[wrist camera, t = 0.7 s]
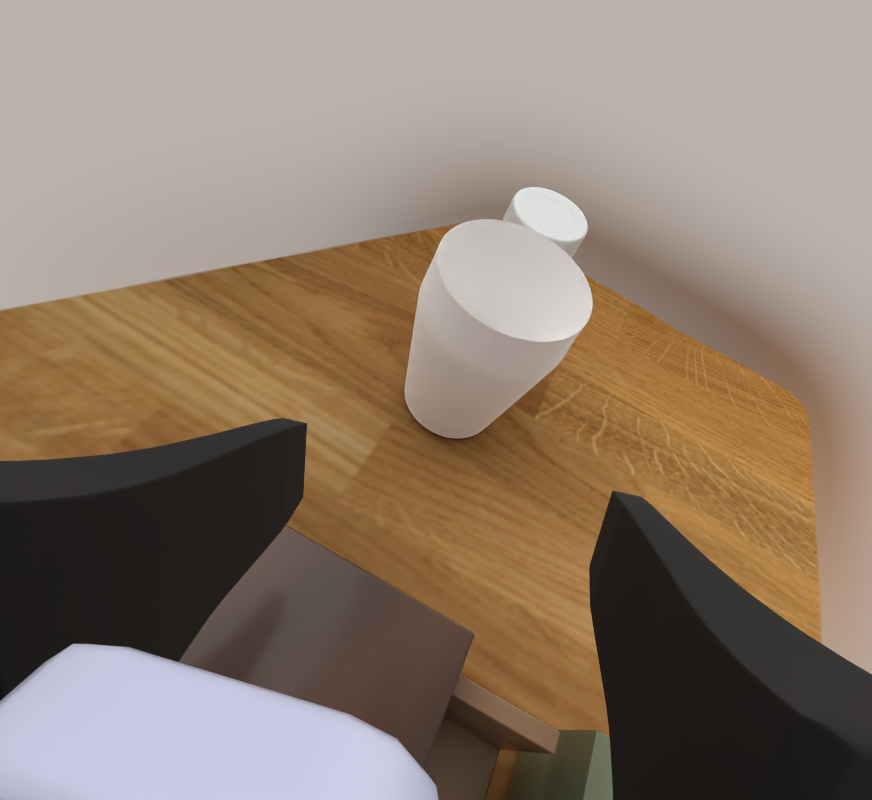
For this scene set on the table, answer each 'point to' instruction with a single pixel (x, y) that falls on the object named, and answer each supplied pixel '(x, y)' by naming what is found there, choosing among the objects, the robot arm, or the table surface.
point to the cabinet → (336, 641)
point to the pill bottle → (549, 217)
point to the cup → (490, 324)
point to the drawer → (518, 731)
